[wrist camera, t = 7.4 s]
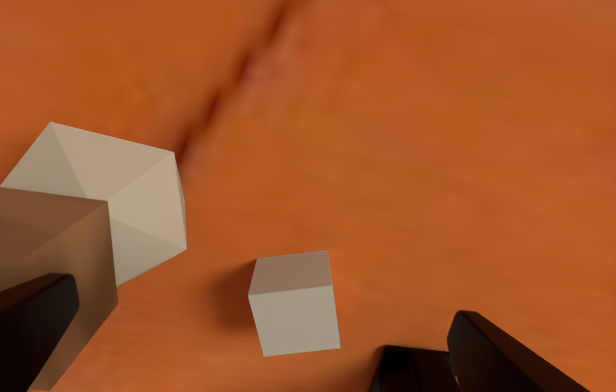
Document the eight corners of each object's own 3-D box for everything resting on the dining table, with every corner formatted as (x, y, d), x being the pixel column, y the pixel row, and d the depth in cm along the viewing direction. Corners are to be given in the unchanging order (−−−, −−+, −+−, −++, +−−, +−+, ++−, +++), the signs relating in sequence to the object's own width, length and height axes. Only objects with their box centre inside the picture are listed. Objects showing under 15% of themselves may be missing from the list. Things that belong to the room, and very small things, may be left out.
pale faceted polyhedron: (44, 162, 20) (-25, 324, 15) (23, 53, 14) (-106, 268, 9) (180, 188, 24) (160, 323, 19) (212, 113, 17) (196, 285, 13)
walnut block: (118, 303, 14) (49, 390, 10) (-2, 290, 13) (-118, 376, 10) (107, 200, 12) (19, 261, 8) (-32, 182, 12) (-191, 237, 8)
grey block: (334, 304, 24) (340, 348, 20) (270, 312, 24) (264, 356, 20) (327, 248, 22) (332, 285, 18) (257, 257, 22) (247, 295, 18)
